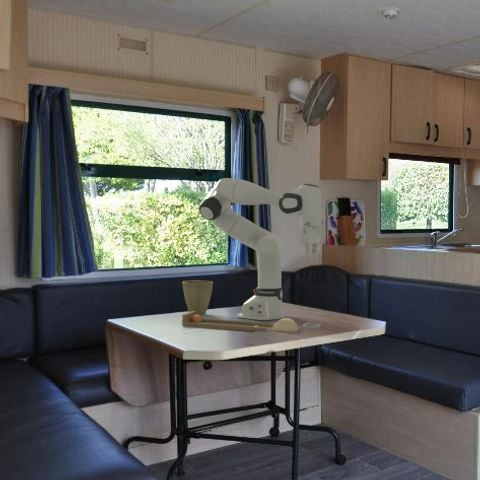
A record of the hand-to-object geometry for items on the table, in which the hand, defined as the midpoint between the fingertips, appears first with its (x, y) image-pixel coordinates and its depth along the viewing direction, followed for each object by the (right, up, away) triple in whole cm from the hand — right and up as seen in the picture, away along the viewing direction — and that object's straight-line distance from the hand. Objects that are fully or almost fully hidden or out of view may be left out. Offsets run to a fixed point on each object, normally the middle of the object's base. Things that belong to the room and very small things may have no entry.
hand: (311, 254), depth 252 cm
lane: (-30, -37, +2) cm, 48 cm away
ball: (-48, -30, +9) cm, 57 cm away
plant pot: (-51, -30, +35) cm, 69 cm away
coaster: (0, -32, +1) cm, 32 cm away
